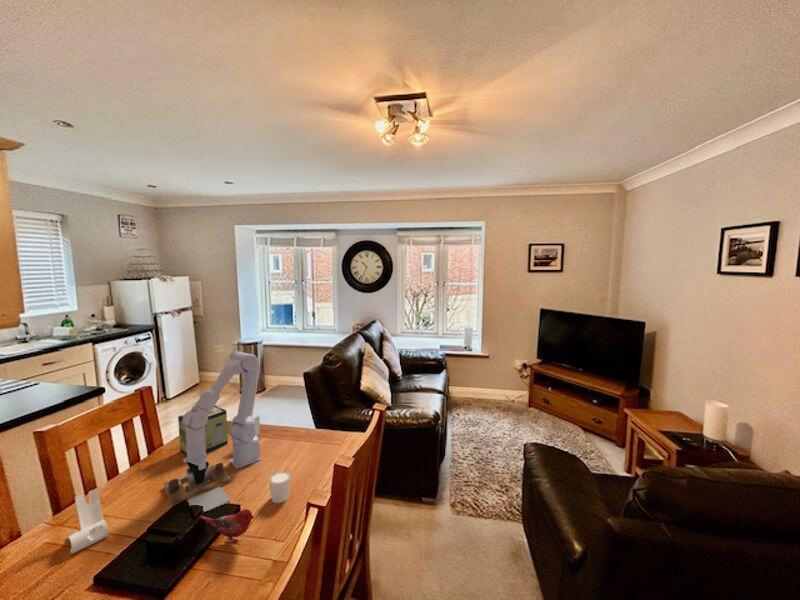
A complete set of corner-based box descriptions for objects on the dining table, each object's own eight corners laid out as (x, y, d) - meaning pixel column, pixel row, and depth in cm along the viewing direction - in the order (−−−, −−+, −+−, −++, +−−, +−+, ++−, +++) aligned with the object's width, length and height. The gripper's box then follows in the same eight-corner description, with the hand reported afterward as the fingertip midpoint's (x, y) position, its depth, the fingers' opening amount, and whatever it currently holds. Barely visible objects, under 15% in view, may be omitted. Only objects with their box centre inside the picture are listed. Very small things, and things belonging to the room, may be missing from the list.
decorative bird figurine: (252, 549, 91) (251, 514, 91) (195, 540, 94) (193, 506, 94) (258, 540, 94) (257, 507, 93) (203, 532, 97) (201, 499, 97)
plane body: (219, 466, 130) (219, 455, 130) (231, 481, 121) (230, 469, 120) (163, 487, 117) (163, 475, 117) (172, 505, 108) (171, 492, 108)
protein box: (179, 451, 141) (177, 416, 140) (216, 437, 154) (215, 404, 153) (190, 459, 135) (188, 422, 134) (228, 443, 148) (227, 409, 147)
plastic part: (72, 556, 89) (69, 515, 88) (64, 539, 95) (60, 500, 94) (108, 538, 95) (106, 500, 94) (98, 523, 101) (96, 486, 100)
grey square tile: (220, 488, 117) (220, 486, 117) (230, 502, 110) (230, 500, 110) (187, 502, 110) (187, 499, 110) (195, 518, 103) (195, 515, 103)
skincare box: (252, 447, 145) (251, 420, 144) (243, 446, 145) (242, 419, 144) (260, 440, 151) (259, 415, 150) (252, 439, 151) (251, 414, 150)
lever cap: (205, 478, 123) (205, 463, 122) (209, 483, 120) (208, 467, 119) (186, 485, 118) (186, 469, 118) (189, 491, 116) (188, 474, 115)
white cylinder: (295, 493, 115) (294, 473, 114) (282, 506, 108) (281, 485, 108) (278, 488, 117) (278, 469, 116) (264, 501, 110) (264, 481, 110)
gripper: (178, 440, 120) (179, 476, 121) (188, 455, 110) (190, 495, 111) (200, 433, 125) (201, 468, 126) (211, 448, 115) (213, 485, 116)
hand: (197, 480), depth 119 cm, fingers closed on lever cap, 4 cm apart
